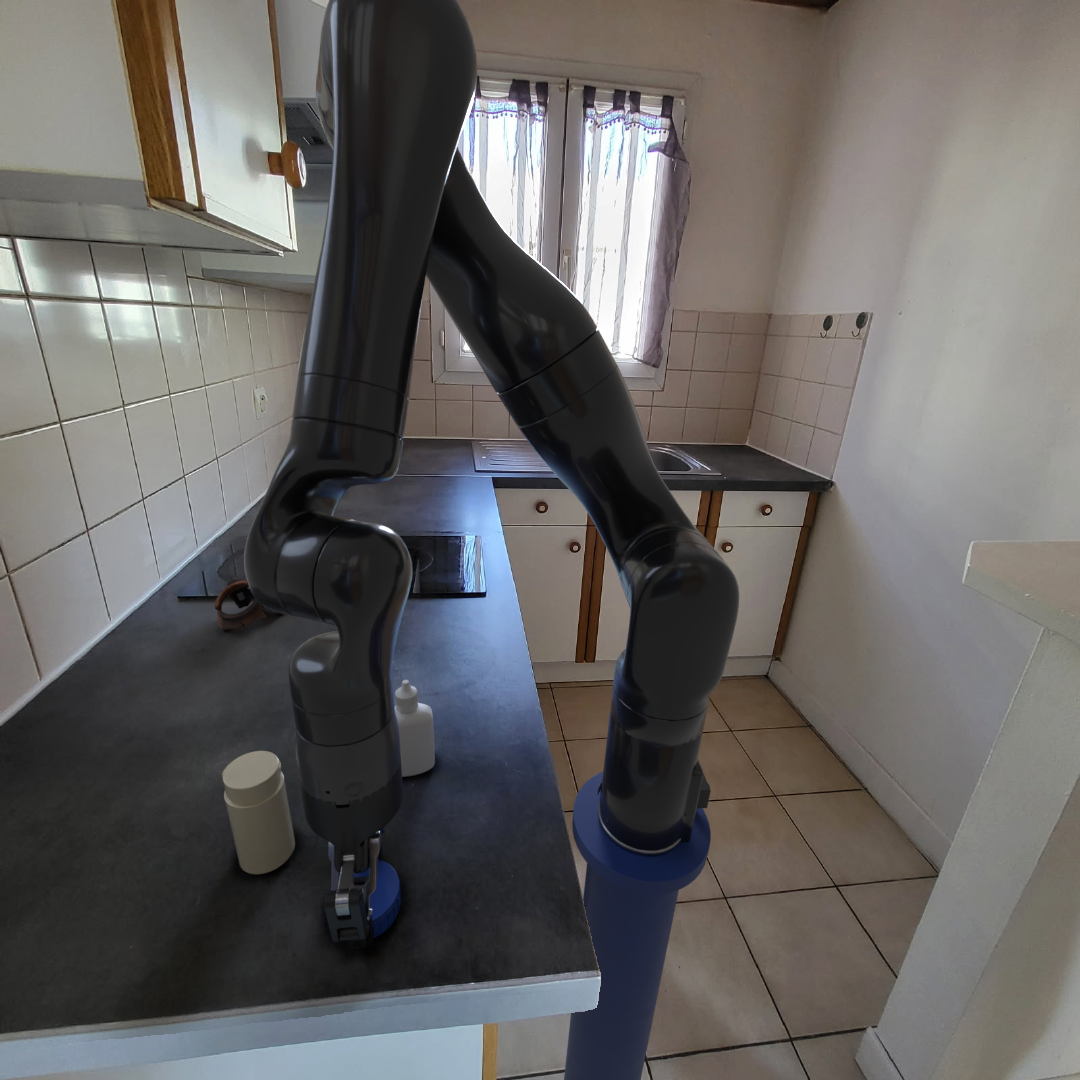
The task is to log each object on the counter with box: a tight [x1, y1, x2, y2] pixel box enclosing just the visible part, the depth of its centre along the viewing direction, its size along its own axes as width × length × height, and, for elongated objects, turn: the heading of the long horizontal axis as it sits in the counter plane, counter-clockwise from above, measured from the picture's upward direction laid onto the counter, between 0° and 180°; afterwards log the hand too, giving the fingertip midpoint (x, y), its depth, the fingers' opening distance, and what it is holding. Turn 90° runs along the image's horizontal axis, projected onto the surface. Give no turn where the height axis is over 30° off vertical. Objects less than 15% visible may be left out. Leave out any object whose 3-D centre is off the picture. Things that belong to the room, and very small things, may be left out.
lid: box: [330, 860, 402, 939], centre depth 50 cm, size 6×6×2 cm
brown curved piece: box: [214, 577, 283, 632], centre depth 93 cm, size 12×10×8 cm
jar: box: [221, 750, 296, 875], centre depth 53 cm, size 5×5×10 cm
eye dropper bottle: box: [394, 679, 436, 778], centre depth 63 cm, size 4×6×12 cm
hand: (366, 904), depth 50 cm, fingers closed on lid, 6 cm apart
